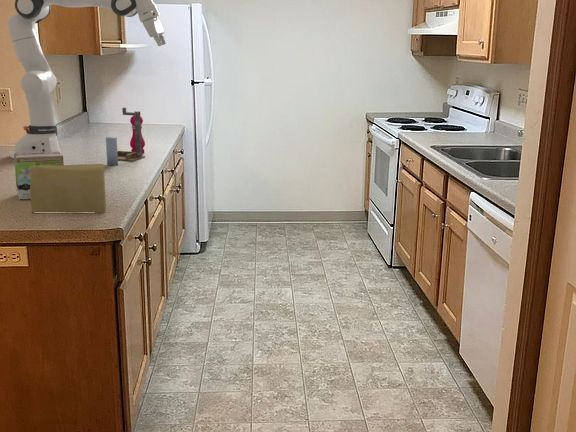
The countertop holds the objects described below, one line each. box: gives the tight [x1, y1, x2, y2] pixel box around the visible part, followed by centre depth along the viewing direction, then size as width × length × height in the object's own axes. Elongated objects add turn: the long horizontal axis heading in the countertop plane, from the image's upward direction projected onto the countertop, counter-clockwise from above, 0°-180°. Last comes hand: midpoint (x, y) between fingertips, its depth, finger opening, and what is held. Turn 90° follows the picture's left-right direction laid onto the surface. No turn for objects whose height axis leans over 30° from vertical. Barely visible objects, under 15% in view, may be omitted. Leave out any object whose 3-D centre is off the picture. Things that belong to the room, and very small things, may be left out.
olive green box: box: [30, 163, 107, 214], centre depth 192 cm, size 22×10×15 cm, turn 104°
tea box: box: [13, 152, 65, 200], centre depth 212 cm, size 15×10×15 cm
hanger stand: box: [117, 107, 146, 162], centre depth 282 cm, size 12×13×23 cm
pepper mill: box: [129, 115, 146, 155], centre depth 297 cm, size 7×7×20 cm
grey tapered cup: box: [105, 136, 119, 167], centre depth 269 cm, size 5×5×12 cm
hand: (162, 45), depth 279 cm, fingers open, 8 cm apart
